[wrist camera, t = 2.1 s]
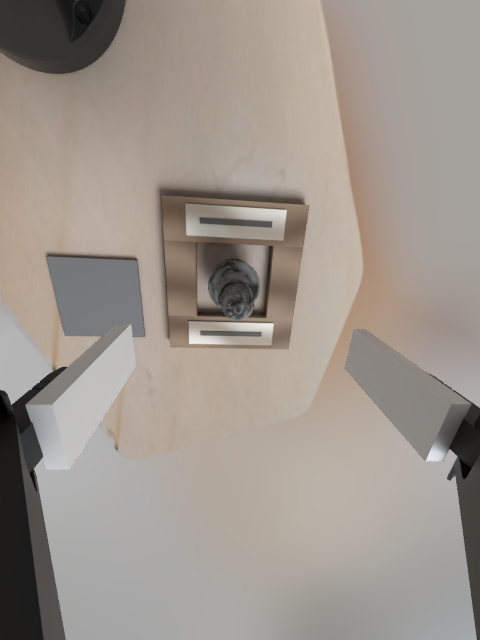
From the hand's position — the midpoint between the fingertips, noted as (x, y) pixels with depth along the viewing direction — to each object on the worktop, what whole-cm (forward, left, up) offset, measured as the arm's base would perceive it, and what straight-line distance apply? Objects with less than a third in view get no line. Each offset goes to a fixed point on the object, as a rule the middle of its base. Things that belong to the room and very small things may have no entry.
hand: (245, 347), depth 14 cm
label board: (0, 0, -17) cm, 17 cm away
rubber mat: (+3, -17, -17) cm, 24 cm away
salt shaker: (0, 0, -18) cm, 17 cm away
